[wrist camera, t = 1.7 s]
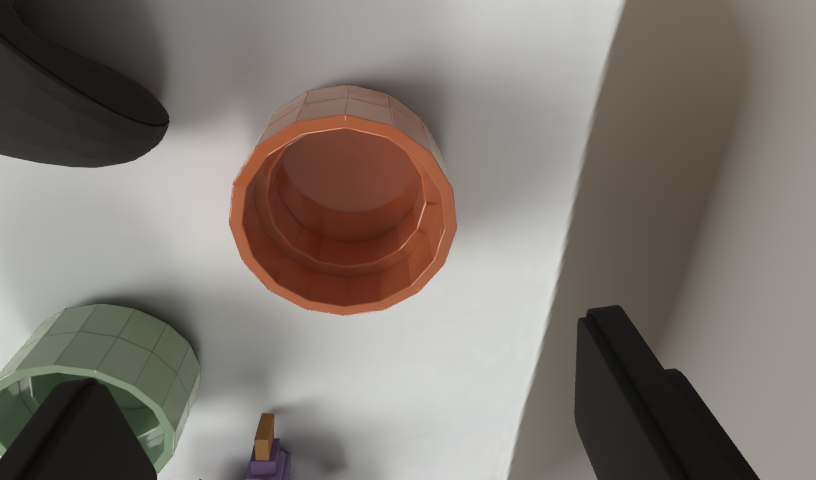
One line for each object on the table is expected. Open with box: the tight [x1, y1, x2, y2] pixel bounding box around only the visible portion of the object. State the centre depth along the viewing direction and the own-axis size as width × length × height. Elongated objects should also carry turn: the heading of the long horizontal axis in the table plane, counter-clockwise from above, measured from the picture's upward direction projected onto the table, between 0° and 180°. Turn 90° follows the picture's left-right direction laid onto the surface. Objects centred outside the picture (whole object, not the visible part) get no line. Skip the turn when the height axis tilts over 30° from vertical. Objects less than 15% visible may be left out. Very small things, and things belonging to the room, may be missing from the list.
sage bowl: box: [0, 303, 201, 474], centre depth 21 cm, size 7×7×4 cm
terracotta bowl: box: [229, 85, 457, 316], centre depth 17 cm, size 7×7×4 cm
